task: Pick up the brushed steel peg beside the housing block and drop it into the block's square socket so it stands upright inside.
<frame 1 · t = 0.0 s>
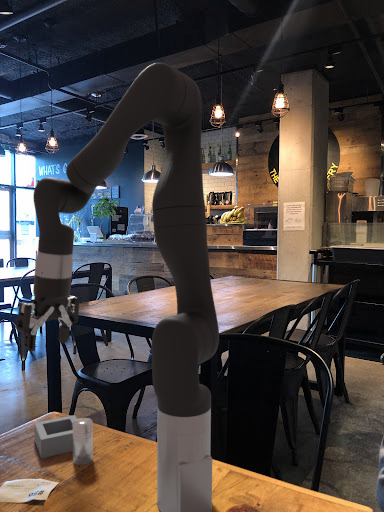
hand: (47, 346, 92), 22 cm above the table, tool pointing down, fingers open, 8 cm apart
housing: (59, 444, 94), on the table
peg: (82, 460, 87), on the table
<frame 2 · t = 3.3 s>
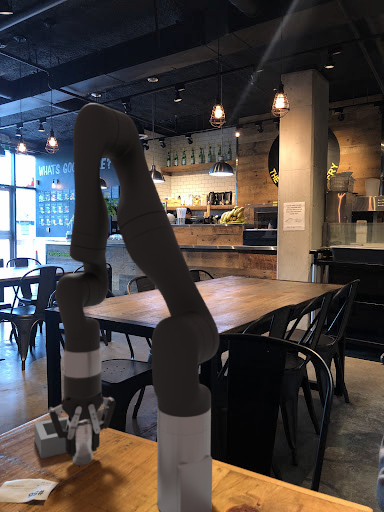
hand: (82, 451, 87), 2 cm above the table, tool pointing down, fingers closed on peg, 4 cm apart
peg: (82, 460, 87), on the table, touching gripper
when the fingers open (5 cm above the table, at t = 8.8 s): peg drops 3 cm, resting in housing.
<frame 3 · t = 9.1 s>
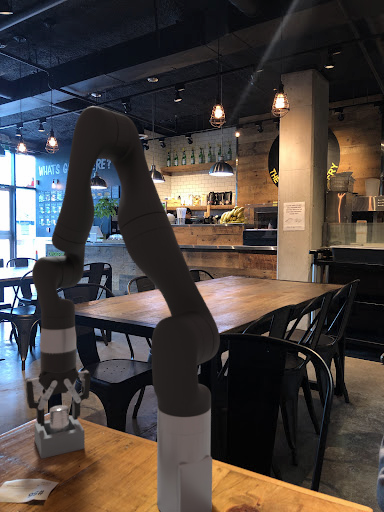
hand: (58, 421, 94), 5 cm above the table, tool pointing down, fingers open, 6 cm apart
peg: (59, 444, 94), resting in housing
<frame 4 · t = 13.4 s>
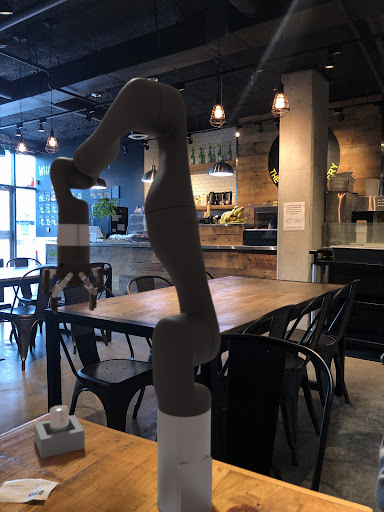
hand: (73, 311, 101), 28 cm above the table, tool pointing down, fingers open, 8 cm apart
nothing on the table moved.
at the end: peg 0.1 cm off-centre on the housing, point 0.0 cm above the housing's base; peg tilted 0°; the gripper is holding nothing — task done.
